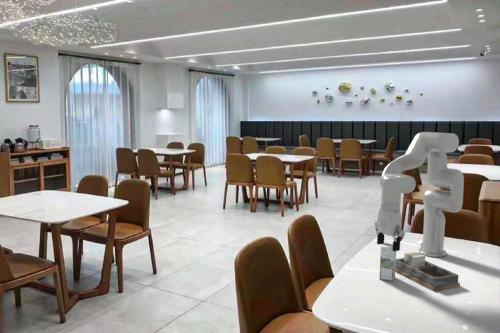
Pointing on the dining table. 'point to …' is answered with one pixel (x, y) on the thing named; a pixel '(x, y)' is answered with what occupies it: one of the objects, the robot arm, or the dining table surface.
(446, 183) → the robot arm
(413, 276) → the divided tray
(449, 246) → the dining table surface
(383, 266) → the syrup box
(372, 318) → the dining table surface
